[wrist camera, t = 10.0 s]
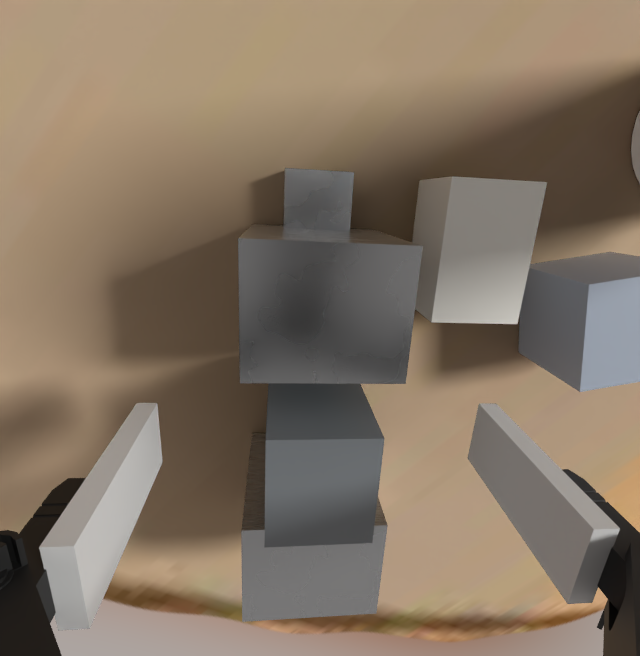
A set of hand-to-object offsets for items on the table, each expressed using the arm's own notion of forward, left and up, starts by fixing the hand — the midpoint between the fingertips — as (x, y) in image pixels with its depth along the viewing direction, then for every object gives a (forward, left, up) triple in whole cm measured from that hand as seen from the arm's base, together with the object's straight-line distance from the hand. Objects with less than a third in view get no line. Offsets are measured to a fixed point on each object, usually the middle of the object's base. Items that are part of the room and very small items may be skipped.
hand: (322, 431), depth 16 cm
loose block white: (-7, +7, -6) cm, 12 cm away
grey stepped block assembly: (0, 0, -6) cm, 6 cm away
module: (+1, 0, -4) cm, 4 cm away
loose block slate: (-4, +14, -6) cm, 16 cm away
